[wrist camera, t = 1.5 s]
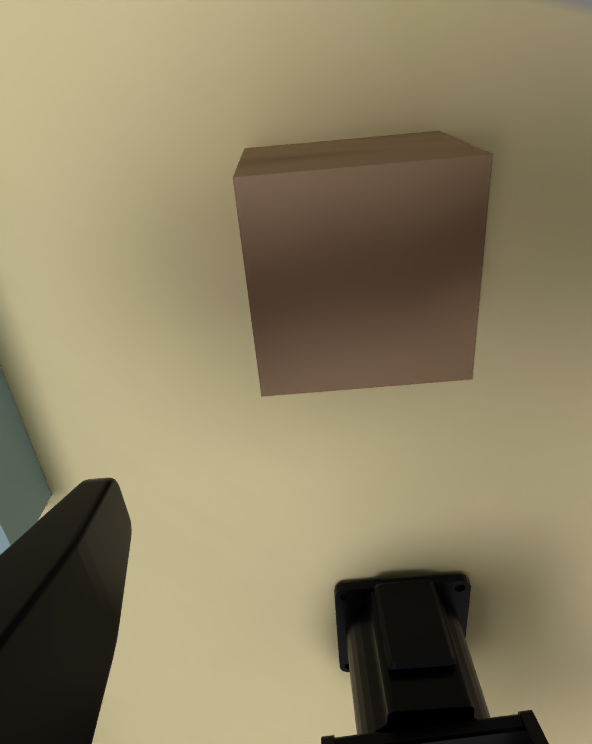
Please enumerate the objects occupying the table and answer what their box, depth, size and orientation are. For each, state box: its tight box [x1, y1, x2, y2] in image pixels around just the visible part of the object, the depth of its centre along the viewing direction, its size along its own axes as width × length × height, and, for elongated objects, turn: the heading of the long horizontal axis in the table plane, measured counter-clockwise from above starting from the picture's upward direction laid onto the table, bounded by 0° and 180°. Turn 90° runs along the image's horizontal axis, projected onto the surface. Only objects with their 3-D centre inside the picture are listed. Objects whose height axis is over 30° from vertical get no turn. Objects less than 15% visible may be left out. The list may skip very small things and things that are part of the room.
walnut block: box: [233, 131, 493, 396], centre depth 16 cm, size 6×6×5 cm
